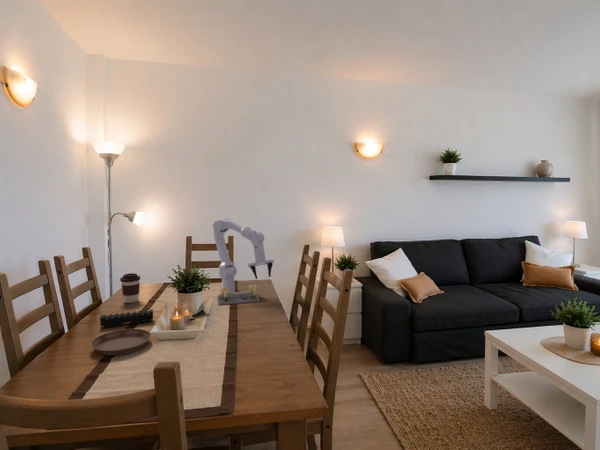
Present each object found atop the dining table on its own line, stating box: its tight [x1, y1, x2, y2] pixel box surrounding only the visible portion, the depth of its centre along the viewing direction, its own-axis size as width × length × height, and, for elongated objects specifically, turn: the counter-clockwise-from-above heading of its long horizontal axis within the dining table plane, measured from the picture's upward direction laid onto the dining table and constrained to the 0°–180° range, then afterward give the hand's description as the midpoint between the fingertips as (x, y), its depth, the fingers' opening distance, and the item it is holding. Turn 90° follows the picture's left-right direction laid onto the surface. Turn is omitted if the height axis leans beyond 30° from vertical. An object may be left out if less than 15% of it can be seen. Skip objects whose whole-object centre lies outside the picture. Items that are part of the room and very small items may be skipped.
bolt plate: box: [216, 295, 260, 306], centre depth 197 cm, size 14×22×1 cm, turn 105°
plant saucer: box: [90, 328, 152, 356], centre depth 136 cm, size 21×21×3 cm
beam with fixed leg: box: [217, 287, 250, 301], centre depth 197 cm, size 8×21×5 cm, turn 105°
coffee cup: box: [119, 272, 141, 304], centre depth 194 cm, size 10×10×15 cm
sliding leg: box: [248, 284, 258, 298], centre depth 199 cm, size 8×4×5 cm, turn 15°
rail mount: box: [99, 308, 154, 329], centre depth 161 cm, size 21×6×5 cm, turn 112°
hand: (263, 277), depth 200 cm, fingers open, 7 cm apart
